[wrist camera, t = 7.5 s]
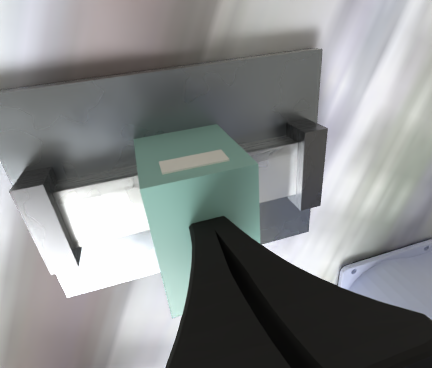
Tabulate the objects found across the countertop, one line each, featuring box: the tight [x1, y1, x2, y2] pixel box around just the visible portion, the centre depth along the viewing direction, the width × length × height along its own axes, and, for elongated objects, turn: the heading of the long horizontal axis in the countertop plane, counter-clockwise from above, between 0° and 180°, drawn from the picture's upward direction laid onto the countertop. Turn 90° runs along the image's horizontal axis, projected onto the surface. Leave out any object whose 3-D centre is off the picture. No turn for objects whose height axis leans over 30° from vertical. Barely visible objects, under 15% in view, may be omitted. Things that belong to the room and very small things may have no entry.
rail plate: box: [0, 48, 328, 298], centre depth 15 cm, size 15×11×3 cm
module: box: [133, 124, 260, 318], centre depth 13 cm, size 4×6×5 cm, turn 5°
